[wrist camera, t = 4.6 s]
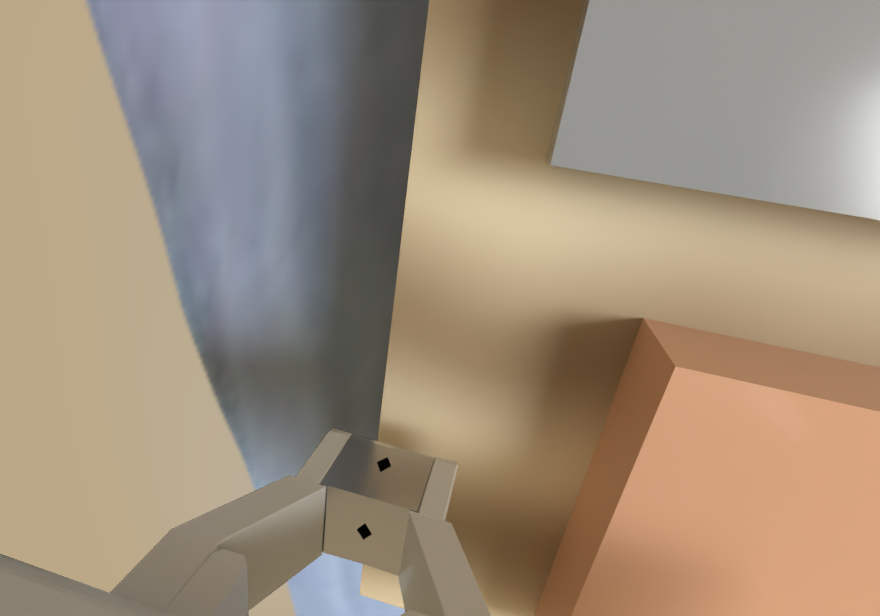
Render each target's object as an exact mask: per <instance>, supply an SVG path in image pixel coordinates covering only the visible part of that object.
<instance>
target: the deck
mask: <svg viewBox="0 0 880 616" xmlns="http://www.w3.org/2000/svg"><path fill="white" fill-rule="evenodd" d="M583 1H584V0H429V7H428V15H427V24H426V32H425V41H424V49H423V58H422V66H421V75H420V83H419V92H418V100H417V109H416V117H415V126H414V134H413V143H412V151H411V160H410V168H409V177H408V185H407V194H406V202H405V211H404V219H403V228H402V237H401V245H400V254H399V262H398V271H397V279H396V288H395V296H394V305H393V313H392V322H391V330H390V339H389V347H388V356H387V364H386V373H385V381H384V390H383V398H382V407H381V415H380V424H379V432H378V441H379V442H383V443H386V444H389V445H393V446H397V447H400V448H404V449H408V450H412V451H415V452H419V453H423V454H427V455H431V456H434V457H440V458H444V459H448V460H452V461H456V462H457V463H458V467H457V472H456V476H455V481H454V485H453V490H452V495H451V499H450V504H449V508H448V513H447V518H446V522H450V523H452V526H453V528H454V530H455V533H456V535H457V537H458V540H459V542H460V544H461V547H462V549H463V551H464V554H465V556H466V558H467V561H468V563H469V566H470V568H471V570H472V573H473V575H474V577H475V580H476V582H477V584H478V587H479V589H480V591H481V594H482V596H483V598H484V601H485V603H486V605H487V608H488V610H489V612H490V615H491V616H535V611H536V609H537V606H538V603H539V601H540V598H541V595H542V592H543V590H544V587H545V584H546V581H547V579H548V576H549V573H550V571H551V568H552V565H553V562H554V560H555V557H556V554H557V551H558V549H559V546H560V543H561V541H562V538H563V535H564V532H565V530H566V527H567V524H568V521H569V519H570V516H571V513H572V511H573V508H574V505H575V502H576V500H577V497H578V494H579V491H580V489H581V486H582V483H583V481H584V478H585V475H586V472H587V470H588V467H589V464H590V461H591V459H592V456H593V453H594V451H595V448H596V445H597V442H598V440H599V437H600V434H601V431H602V429H603V426H604V423H605V421H606V418H607V415H608V412H609V410H610V407H611V404H612V401H613V399H614V396H615V393H616V391H617V388H618V385H619V382H620V380H621V377H622V374H623V371H624V369H625V366H626V363H627V361H628V358H629V355H630V352H631V350H632V347H633V344H634V341H635V339H636V336H637V333H638V331H639V328H640V325H641V322H642V320H643V318H646V319H651V320H655V321H660V322H665V323H670V324H675V325H679V326H684V327H689V328H694V329H698V330H703V331H708V332H713V333H717V334H722V335H727V336H732V337H737V338H741V339H746V340H751V341H756V342H760V343H765V344H770V345H775V346H779V347H784V348H789V349H794V350H799V351H803V352H808V353H813V354H818V355H822V356H827V357H832V358H837V359H842V360H846V361H851V362H856V363H861V364H865V365H870V366H875V367H880V220H876V219H870V218H864V217H858V216H852V215H846V214H840V213H834V212H828V211H822V210H816V209H810V208H804V207H798V206H792V205H786V204H780V203H774V202H768V201H762V200H756V199H750V198H744V197H738V196H732V195H726V194H720V193H714V192H708V191H702V190H696V189H690V188H684V187H678V186H672V185H666V184H660V183H654V182H648V181H642V180H636V179H630V178H624V177H618V176H612V175H606V174H600V173H594V172H588V171H582V170H576V169H570V168H564V167H558V166H552V165H549V164H548V163H546V159H547V155H548V151H549V147H550V142H551V138H552V134H553V130H554V125H555V121H556V117H557V112H558V108H559V104H560V100H561V95H562V91H563V87H564V82H565V78H566V74H567V70H568V65H569V61H570V57H571V53H572V48H573V44H574V40H575V35H576V31H577V27H578V23H579V18H580V14H581V10H582V6H583ZM398 578H399V576H396V575H394V574H391V573H388V572H385V571H382V570H379V569H376V568H374V567H371V566H368V565H365V564H363V569H362V577H361V586H360V595H363V596H367V597H370V598H373V599H376V600H379V601H382V602H385V603H388V604H391V605H394V606H397V607H400V608H403V609H405V608H404V603H403V598H402V593H401V588H400V584H399V579H398Z"/></svg>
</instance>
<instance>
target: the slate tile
mask: <svg viewBox="0 0 880 616" xmlns="http://www.w3.org/2000/svg"><path fill="white" fill-rule="evenodd" d="M546 163H548V164H549V165H552V166H558V167H564V168H570V169H576V170H582V171H588V172H594V173H600V174H606V175H612V176H618V177H624V178H630V179H636V180H642V181H648V182H654V183H660V184H666V185H672V186H678V187H684V188H690V189H696V190H702V191H708V192H714V193H720V194H726V195H732V196H738V197H744V198H750V199H756V200H762V201H768V202H774V203H780V204H786V205H792V206H798V207H804V208H810V209H816V210H822V211H828V212H834V213H840V214H846V215H852V216H858V217H864V218H870V219H876V220H880V0H584V1H583V6H582V10H581V14H580V18H579V23H578V27H577V31H576V35H575V40H574V44H573V48H572V53H571V57H570V61H569V65H568V70H567V74H566V78H565V82H564V87H563V91H562V95H561V100H560V104H559V108H558V112H557V117H556V121H555V125H554V130H553V134H552V138H551V142H550V147H549V151H548V155H547V159H546Z"/></svg>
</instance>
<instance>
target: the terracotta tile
mask: <svg viewBox="0 0 880 616" xmlns="http://www.w3.org/2000/svg"><path fill="white" fill-rule="evenodd" d="M535 616H880V367H875V366H870V365H865V364H861V363H856V362H851V361H846V360H842V359H837V358H832V357H827V356H822V355H818V354H813V353H808V352H803V351H799V350H794V349H789V348H784V347H779V346H775V345H770V344H765V343H760V342H756V341H751V340H746V339H741V338H737V337H732V336H727V335H722V334H717V333H713V332H708V331H703V330H698V329H694V328H689V327H684V326H679V325H675V324H670V323H665V322H660V321H655V320H651V319H646V318H643V320H642V322H641V325H640V328H639V331H638V333H637V336H636V339H635V341H634V344H633V347H632V350H631V352H630V355H629V358H628V361H627V363H626V366H625V369H624V371H623V374H622V377H621V380H620V382H619V385H618V388H617V391H616V393H615V396H614V399H613V401H612V404H611V407H610V410H609V412H608V415H607V418H606V421H605V423H604V426H603V429H602V431H601V434H600V437H599V440H598V442H597V445H596V448H595V451H594V453H593V456H592V459H591V461H590V464H589V467H588V470H587V472H586V475H585V478H584V481H583V483H582V486H581V489H580V491H579V494H578V497H577V500H576V502H575V505H574V508H573V511H572V513H571V516H570V519H569V521H568V524H567V527H566V530H565V532H564V535H563V538H562V541H561V543H560V546H559V549H558V551H557V554H556V557H555V560H554V562H553V565H552V568H551V571H550V573H549V576H548V579H547V581H546V584H545V587H544V590H543V592H542V595H541V598H540V601H539V603H538V606H537V609H536V611H535Z"/></svg>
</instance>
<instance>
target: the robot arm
mask: <svg viewBox="0 0 880 616" xmlns="http://www.w3.org/2000/svg"><path fill="white" fill-rule="evenodd" d="M457 467H458V463H457V462H456V461H452V460H448V459H444V458H440V457H434V456H431V455H427V454H423V453H419V452H415V451H412V450H408V449H404V448H400V447H397V446H393V445H389V444H386V443H383V442H379V441H376V440H373V439H369V438H366V437H363V436H359V435H356V434H351V433H348V432H344V431H341V430H338V429H335V428H333V429H332V430H330V431H329V432H328V433H327V434H326V435H325V437H324V438H323V440H322V441H321V442H320V444H319V445H318V446H317V448H316V449H315V450H314V452H313V453H312V454H311V456H310V457H309V459H308V460H307V461H306V463H305V464H304V465H303V467H302V468H301V469H300V471H299V472H298V474H297V475H296V476H295V477H293V476H289V475H288V476H286V477H284V478H282V479H279V480H277V481H275V482H273V483H271V484H269V485H266V486H264V487H262V488H260V489H258V490H255V491H253V492H251V493H249V494H247V495H245V496H242V497H240V498H238V499H236V500H234V501H231V502H229V503H227V504H225V505H223V506H220V507H218V508H216V509H214V510H212V511H210V512H207V513H205V514H203V515H201V516H199V517H196V518H195V519H192V520H190V521H188V522H185V523H183V524H181V525H179V526H177V527H175V528H172V529H171V530H170V531H169V532H168V533H167V534H166V535H165V536H164V537H163V538H162V539H161V540H160V541H159V542H158V543H157V544H156V545H155V546H154V548H153V549H152V550H151V551H150V552H149V553H148V554H147V555H146V556H145V557H144V558H143V559H142V560H141V561H140V562H139V563H138V564H137V565H136V566H135V567H134V568H133V569H132V570H131V571H130V572H129V574H127V575H126V577H125V578H124V579H123V580H122V581H121V582H120V583H119V584H118V585H117V586H116V587H115V588H114V589H113V590H112V591H111V592H110V593H109V592H106V591H103V590H100V589H97V588H95V587H92V586H89V585H86V584H83V583H81V582H78V581H75V580H72V579H70V578H67V577H64V576H61V575H58V574H56V573H53V572H50V571H47V570H44V569H42V568H39V567H36V566H33V565H30V564H28V563H25V562H22V561H19V560H16V559H14V558H11V557H8V556H5V555H2V554H0V616H248V611H249V610H250V609H251V608H253V607H254V606H255V605H257V604H258V603H259V602H261V601H262V600H263V599H265V598H266V597H267V596H268V595H270V594H271V593H272V592H274V591H275V590H276V589H278V588H279V587H280V586H281V585H283V584H284V583H285V582H287V581H288V580H289V579H291V578H292V577H293V576H295V575H296V574H297V573H298V572H300V571H301V570H302V569H304V568H305V567H306V566H308V565H309V564H310V563H311V562H313V561H314V560H315V559H317V558H318V557H319V556H321V554H322V552H324V553H327V554H331V555H334V556H338V557H341V558H345V559H348V560H352V561H355V562H359V563H362V564H365V565H368V566H371V567H374V568H376V569H379V570H382V571H385V572H388V573H391V574H394V575H396V576H399V578H398V579H399V584H400V588H401V593H402V598H403V603H404V608H405V613H403V614H402V615H401V616H491V615H490V612H489V610H488V608H487V605H486V603H485V601H484V598H483V596H482V594H481V591H480V589H479V587H478V584H477V582H476V580H475V577H474V575H473V573H472V570H471V568H470V566H469V563H468V561H467V558H466V556H465V554H464V551H463V549H462V547H461V544H460V542H459V540H458V537H457V535H456V533H455V530H454V528H453V526H452V523H450V522H446V518H447V513H448V508H449V504H450V499H451V495H452V490H453V485H454V481H455V476H456V472H457Z"/></svg>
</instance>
